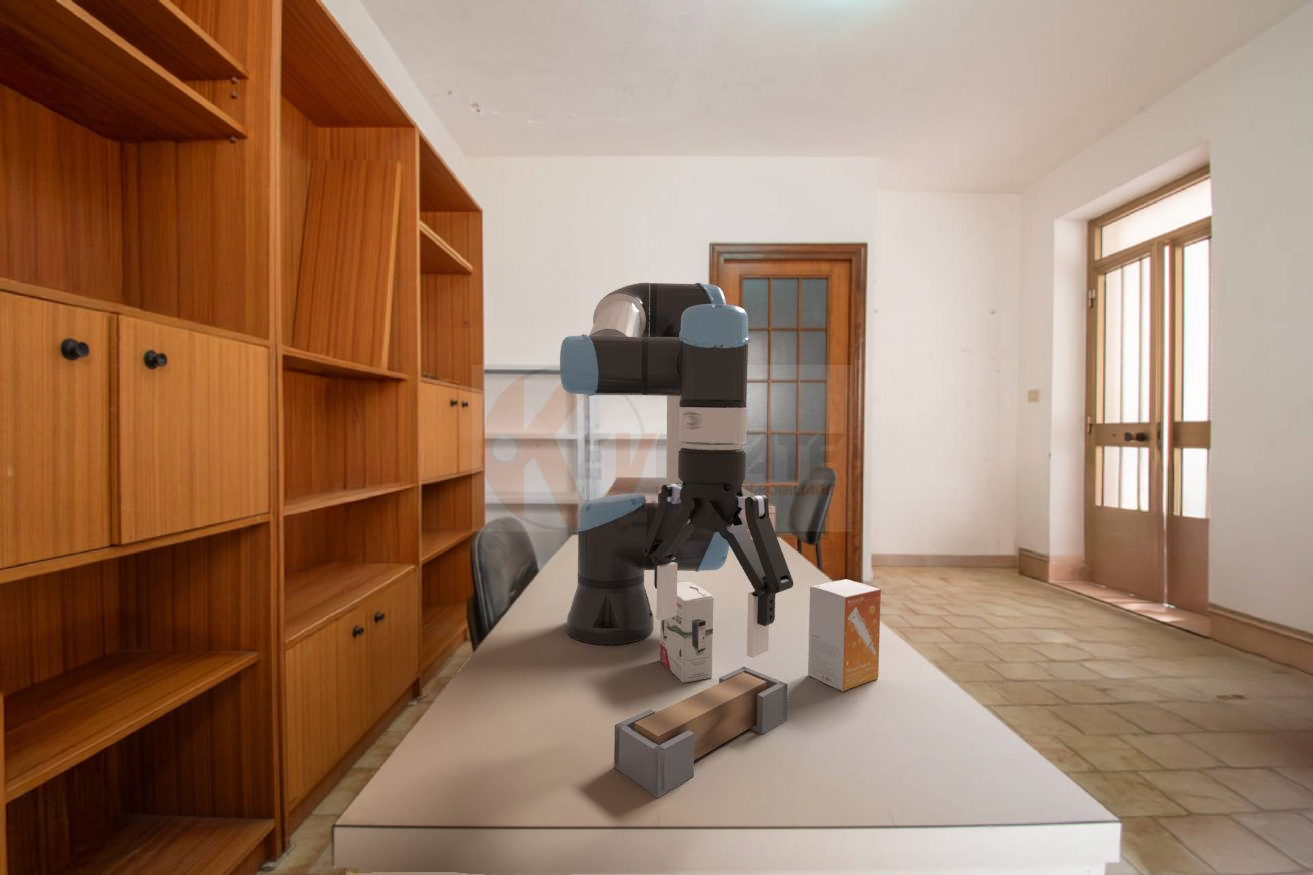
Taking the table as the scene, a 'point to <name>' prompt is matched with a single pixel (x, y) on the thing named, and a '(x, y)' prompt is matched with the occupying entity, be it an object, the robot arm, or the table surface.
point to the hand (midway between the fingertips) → (708, 634)
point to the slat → (708, 714)
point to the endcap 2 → (766, 700)
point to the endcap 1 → (653, 757)
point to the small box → (844, 633)
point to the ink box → (689, 634)
